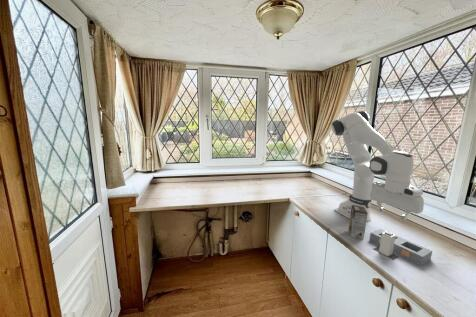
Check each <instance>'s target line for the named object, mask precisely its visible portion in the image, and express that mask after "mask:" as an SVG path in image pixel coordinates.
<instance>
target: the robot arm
mask: <svg viewBox="0 0 476 317" xmlns="http://www.w3.org/2000/svg"><path fill="white" fill-rule="evenodd" d="M331 131H332V133H333V134H334V135H335V136H342V138H343V139H342V140H343V143H344V145H345V148H346V150H347V152H348V155H349V157H350V158H351V160H352V161H353V164H354V166H355V167H354V173H353V186H352V194H349V195H348V199H346V200H343V201H342V202H340V203H339V204H338V206H336V207H335V208H334V211H335V212H337V213H338V214H340V215H342V216H344V217H346V218H347V219H349V220H350V215H351V208H352V205H356V206H361V207H364V208H365V210H366V211H367V213H368V214H367V221H366V222H369V221H371V220H372V218H371V207H372V201H376V205H377V206H378V212H384V211H385V210H384V209H385V207H383V205H382V204H385V205H388V206H391V207H393V208H396V209H400V210H403V211H404V212H405V213H404V214H402V215H401V217H400V219H402V220H404V221H406V220H407V219H408V216H410V215H411V214H412V213H413V214H417V215H418V214H420V213H422V212H423V211H424V204H425V203H424V202H425V201H424V197H423V196H422V195H423V194H424V191H423V190H422V189H421V188H419V187H417V186H415V185H412V184H411V176H412V173H413V171H414V170H413V169H414V157H413V154H411V152H407V151H402V150H397V149H396V148H395V147H394V146H393V145H392V144H391V143H390V142H389V141H388V140H387V139H386V138H385V137H384V136H383V135H382V134H380V133H379V131H378V132H377V131H376V130H375V129H374V128H373V127H372V126H371V124H370V115H369V113H367V111H365V110H359V111H356V112H352V113H350V114H347V115H345V116H342V117H340V118H339V119H336V120H334V121H332V123H331ZM367 146H368V147H371V148H375V149H376V150H378V151H379V153H380V154H381V155H377V156H373V157H372V155H371V153H370V152H369V150H368V147H367ZM375 175H376V176H377V175H378V176H385V182H379V181H375V182H374V180H375Z"/></svg>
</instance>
